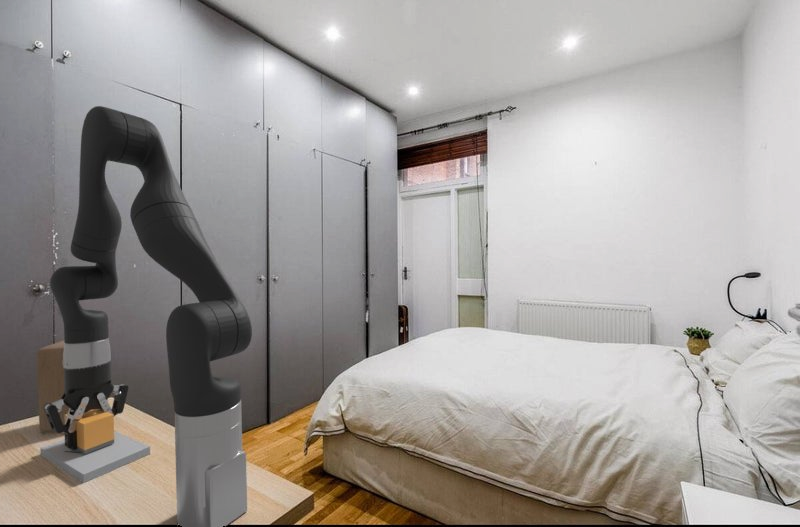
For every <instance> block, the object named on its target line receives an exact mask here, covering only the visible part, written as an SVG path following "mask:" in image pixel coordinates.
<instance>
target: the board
mask: <svg viewBox="0 0 800 527" xmlns="http://www.w3.org/2000/svg"><path fill="white" fill-rule="evenodd" d="M39 451H40V456H42V457H43V458H45V459H46V460H47V461H50V462H51V463H53V464H54V465H56V466H58V468H60V469H61V470H63V471H65V472H66V473H68V474H70V475H71V476H73V477H74V478H76V479H77V480H79V481H80V482H81V483H84V484H85V483H87V482H89V481H92V480H94V479H96V478H98V477H100V476H103V475H105V474H107V473H109V472H112V471H114V470H116V469H119V468H121V467H123V466H126V465H129V464H130V463H133V462H135V461H137V460H139V459H141V458H144V457H146V456H149V455H150V454H151V446H150V445H148V444H145V443H143V442H141V441H139V440H136V439H134V438H132V437H130V436H128V435H126V434H123V433H121V432H118V431H116V430H114V443H113V444H110V445H108V446H105V447H103V448H100V449H97V450H95V451H92V452H90V453H87V454H83V453H81V452H80V451H78V450H76V449H75V450H71V449H69V448H67V447H66V446H65V438H64V439H61V440H58V441H56V442H53V443H50V444H47V445H44V446H41V447H40V449H39Z"/></svg>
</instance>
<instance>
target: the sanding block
mask: <svg viewBox="0 0 800 527" xmlns="http://www.w3.org/2000/svg"><path fill="white" fill-rule="evenodd" d="M114 417H115V416H114V415H113V414H111V413H109V412H103V411H100V410H98V409H94V410H90V411H88V412H86V413H83V415H82V418H81V420H78V421H77V428H76V430H75V431H77V449H76V450H78V451H80V452H81V453H83V454H87V453H90V452H92V451H95V450H97V449H100V448H103V447H105V446H108V445H110V444H113V443H114V431H115V425H114V424H115V418H114ZM66 419H67V414H66V415H65V422H66Z"/></svg>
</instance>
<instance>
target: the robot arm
mask: <svg viewBox="0 0 800 527" xmlns="http://www.w3.org/2000/svg"><path fill="white" fill-rule="evenodd" d="M79 153H80V155H79V158H80V159H79V184H78V186H79V187H78V188H79V190H78V191H79V192H78V208H77V216H76V221H75V225H74V228H73V230H74V231H73V234H72V238H71V243H70V253H71V254H72V256H73V257H75V258H76V259H78V260H80V261H83V262H88V263H92V264H95V265H81V266H80V265H79V266H77V265H76V266H71V265H70V266H69V265H68V266H61V267H59V268H57V269H56V270H55V271H53V273H52V275H51V276H50V281H49V286H50V289H51V293H52V295H53V298H54V300H55V301H56V304H57V306H58V309H59V312H60V314H61V317H62V322H63V332H64V333H63V334H64V335H63V336H64V339H63V340H64V342H65V343H64V351H63V369H64V394H63V396H62V398H61V399H60V400H58V401H56V402H53V403H46V404H45V405H44V406H43V408H44V411H45V413H46V416H47V419H48V421H49V424H50V426H51V429H52V430H53V431H55V432H54V433H57V434H61V433H64V439H65V446H66V447H67V448H69V449H71V450H75V449H77V431H75V430H76V428H77V421H78V420H81V418H82V415H83V413H86V412H88V411H90V410H94V409H98V410H100V411H103V412H109V413H111V414H113V415H114V417H115V416H117V415H118V414H122V413H123V412H124V409H125V405H126V400H127V397H128V396H127V395H128V391H129V386H128V385H127V384H124V383H119V384H116V385H115V384H113V383H112V363H111V362H112V357H111V356H112V355H111V354H112V352H111V344H110V339H109V336H110V335H109V316H108V314H107V312H106V311H104V310H97V309H96V310H95V309H94V310H93V309H85V308H83V307H82V306H81V304H80V301H86V300H87V301H88V300H100V299H105V298H109V297H110V296H112V295H113V294H114V293H115V292H116V290H117V289H118V286H119V285H118V284H119V278H118V272H117V266H116V265H117V264H116V262H117V261H116V254H117V253H116V251H117V247H118V244H119V239H120V236H121V232H122V223H123V222H122V216H121V213H120V210H119V209H118V206H117V204H116V203H115V200H114V199H113V197H112V194H111V192H110V191H109V188H108V184H107V181H106V167H107V162H114V163H120V164H125V165H129V166H134V167H135V168H137V169H139V171H140V173H141V174H142V177H143V180H144V181H143V184H142V186H141V187H140V190H139V191H138V193H137V194H136V195H135V197H134V200H133V202H132V204H131V207H130V213H129V215H130V220H131V223H132V227H133V229H134V231H135V233H136V236H137V238H138V241H139V243H140V245H141V247H142V249H143V250H144V252H145V253H146V254H147V255H148V256H149V257H150V258H151V259H153V261H154V262H156V263H157V264H158V265H159V266H161V268H163V269H165V270H166V271H167V272H169V273H170V274H172V275H173V276H175V278H178V279H179V280H180V281H181V282H183V283H184V284H185V285H186V286H187V287H188V288H189V289H190V291H191V292H192V293H193V294H194V296H195V297H196V299H197V301H198V302H193V303H192V302H191V303H185V304H181V305H178V306H176V307H175V308H174V309H172V310H171V312H170V315H169V316H168V319H167V322H166V329H165V330H166V331H165V333H166V335H165V339H166V351H167V352H166V353H167V362H168V372H169V374H168V375H169V385H170V392H171V396H172V399H173V405H174V406H173V410H174V444H175V445H174V446H175V448H174V450H175V488H176V489H175V490H176V493H175V494H176V516H177V517H176V519H177V520H176V522H178V524H179V525H180V526H182V527H223V526H225V527H226V526H228V525H229V524H231V523H233V521H235V520H236V519H237V518H239V517H240V516H242V515H244V513H246V512H247V511H248V486H247V485H248V483H247V482H248V480H247V479H248V478H247V475H248V474H247V473H248V472H247V452H246V451H245V450H243V431H242V430H243V428H242V426H243V425H242V424H243V422H242V420H243V419H242V416H243V415H242V388H241V383H240V382H239V381H238V380H236V379H235V378H231V377H226V376H225V377H224V376H213V374H212V368H211V362H213V361H217V360H221V359H223V358H224V359H225V358H227V357H231V356H234V355H237V354H240V353H242V352H244V351H245V350H247V349H248V348H249V346H250V343H251V341H252V338H253V328H252V323H251V318H250V317H249V313H248V311H247V309H246V307H245V306H244V303H243V302H242V300H241V298H240V296H239V295H238V293H237V292H236V291H235V289H234V288H233V286H232V285H231V284H232V283H230V282H229V280H228V278H227V276H226V275H225V274H224V272H223V270H222V268H221V267H220V265H219V263H218V261H217V260H216V257H215V255H214V254H213V252H212V250H211V248H210V246H209V244H208V242H207V241H206V238H205V236H204V234H203V231H202V229H201V227H200V225H199V222H198V220H197V218H196V216H195V214H194V211H193V210H192V208H191V206H190V205H189V203H188V200H187V199H186V197H185V194H184V192H183V191H182V189H181V187H180V184H179V182H178V179H177V176H176V175H175V171H174V170H173V167H172V164H171V161H170V157H169V155H168V152H167V149H166V146H165V142H164V140H163V137H162V135H161V133H160V131H159V129H158V128H157V126H156V125H155V124H154V123H153V122H151V121H150V120H148V119H146V118H143V117H139V116H137V115H134V114H130V113H127V112H123V111H120V110H116V109H114V108H110V107H105V106H101V105H100V106H99V105H97V106H93V107H92V108H91V109H90V110H89V111H88V112H87V113H86V116H85V118H84V120H83V124H82V130H81V137H80V152H79ZM112 393H113V395H114V397H113V402H112V407H111V405H110V403H109V401H108V402H107V399H109V398H110V396H111V394H112ZM63 404H65V405H66V406H68V407H69V408H70V409H69V411H68V414H67V419H66V422H65V424H63V423H62V420H61V418H60V415H59V412H60V411H61V410H62V405H63ZM178 524H177V525H178Z"/></svg>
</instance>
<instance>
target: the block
mask: <svg viewBox="0 0 800 527" xmlns="http://www.w3.org/2000/svg"><path fill="white" fill-rule="evenodd" d="M64 343H65V342H64V339H63V340H61V341H57V342H55V343H52V344H48V345H46V346H44V347H40V348H39V349H38V350H37V352H36V360H37V361H36V362H37V364H36V366H37V388H38V390H37V391H38V392H37V393H38V399H37V400H38V420H39V421H38V423H39V424H38V425H39V426H38V427H39V429H38V430H39V432H40V434H48V433H49V434H51V433H56V432H55V431H53V430H52V429H51V426H50V424H49V421H48V419H47V416H46V413H45V411H44V408H43V406H44V405H45V404H46V403H53V402H56V401H58V400H60V399H61V398H62V396H63V394H64V369H63V351H64ZM108 399H109V398H108ZM108 399H107V402H108V403H109V400H108ZM69 409H70V408H69V407H68V406H66V405H65V404H63V405H62V410H61V411H60V412H59V415H60V418H61V420H62V423H63V424H65V415H66V414H68V411H69ZM50 432H51V433H50Z"/></svg>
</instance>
